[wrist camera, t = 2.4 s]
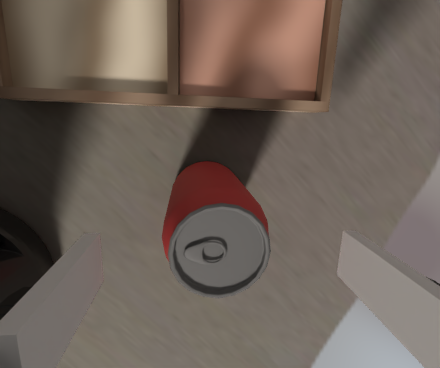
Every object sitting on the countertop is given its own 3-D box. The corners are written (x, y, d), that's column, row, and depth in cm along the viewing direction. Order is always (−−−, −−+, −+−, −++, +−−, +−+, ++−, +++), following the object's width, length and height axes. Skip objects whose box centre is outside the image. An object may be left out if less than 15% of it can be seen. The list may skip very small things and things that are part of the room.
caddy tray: (15, 100, 22) (-8, 97, 19) (-13, -108, 19) (-45, -144, 16) (313, 112, 25) (328, 111, 22) (333, -64, 22) (353, -88, 19)
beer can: (171, 159, 25) (155, 194, 13) (241, 160, 25) (285, 194, 14) (172, 225, 26) (159, 310, 14) (238, 224, 27) (275, 304, 15)
